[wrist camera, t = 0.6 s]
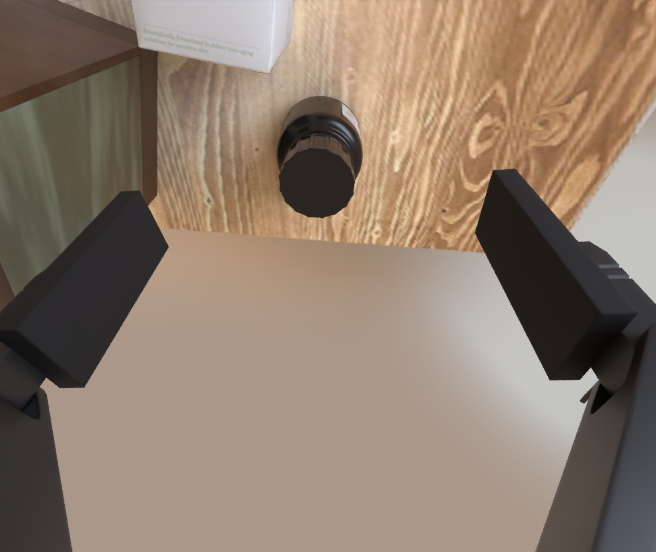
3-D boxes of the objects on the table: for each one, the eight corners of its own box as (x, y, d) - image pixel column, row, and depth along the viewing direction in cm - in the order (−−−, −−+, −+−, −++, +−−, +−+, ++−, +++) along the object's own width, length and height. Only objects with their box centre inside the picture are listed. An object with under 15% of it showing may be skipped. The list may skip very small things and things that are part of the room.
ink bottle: (350, 181, 42) (353, 236, 33) (280, 169, 41) (265, 223, 32) (369, 98, 35) (379, 139, 27) (287, 82, 35) (269, 120, 26)
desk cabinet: (49, 162, 41) (-188, 318, 23) (7, -20, 30) (-547, -7, 11) (157, 195, 44) (25, 357, 25) (157, 39, 32) (-85, 129, 14)
